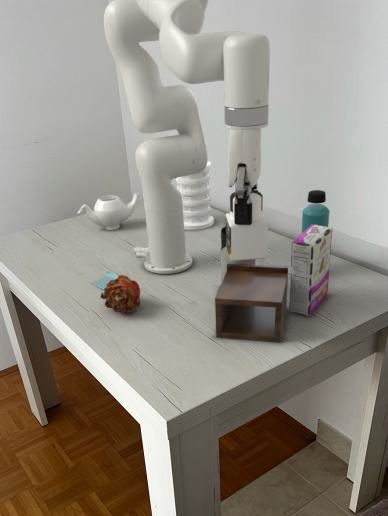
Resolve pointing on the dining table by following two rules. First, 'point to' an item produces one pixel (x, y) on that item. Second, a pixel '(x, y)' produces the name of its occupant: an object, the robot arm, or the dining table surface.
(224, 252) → the black and white mug
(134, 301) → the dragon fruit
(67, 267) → the dining table surface
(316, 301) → the candy bar box
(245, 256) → the medicine bottle
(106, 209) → the teapot
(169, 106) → the robot arm
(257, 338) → the dark wooden cubby
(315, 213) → the beverage bottle
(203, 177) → the decorative container
